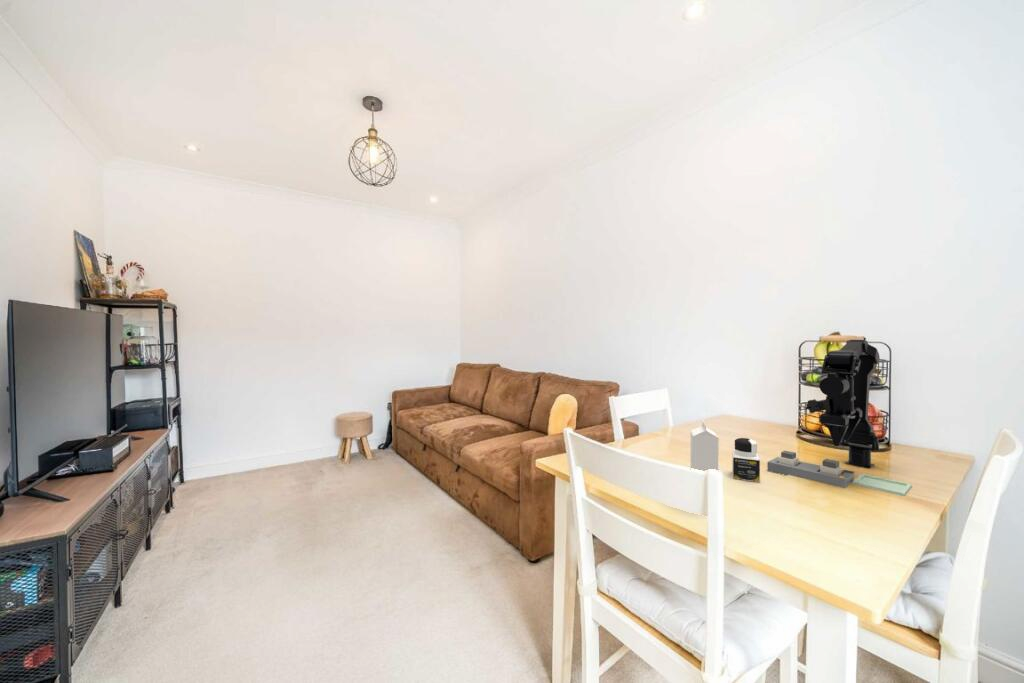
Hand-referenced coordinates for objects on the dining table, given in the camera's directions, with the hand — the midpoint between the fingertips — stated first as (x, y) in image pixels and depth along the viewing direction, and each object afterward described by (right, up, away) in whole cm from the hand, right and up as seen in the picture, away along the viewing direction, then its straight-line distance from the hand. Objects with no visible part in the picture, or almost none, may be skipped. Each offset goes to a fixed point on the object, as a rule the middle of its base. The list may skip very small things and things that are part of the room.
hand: (841, 443), depth 121 cm
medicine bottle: (-27, -12, +4) cm, 30 cm away
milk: (-50, -12, -16) cm, 54 cm away
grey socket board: (-7, -12, +4) cm, 14 cm away
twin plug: (-11, -12, +8) cm, 18 cm away
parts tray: (+8, -12, -5) cm, 15 cm away
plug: (-4, -12, -1) cm, 12 cm away
